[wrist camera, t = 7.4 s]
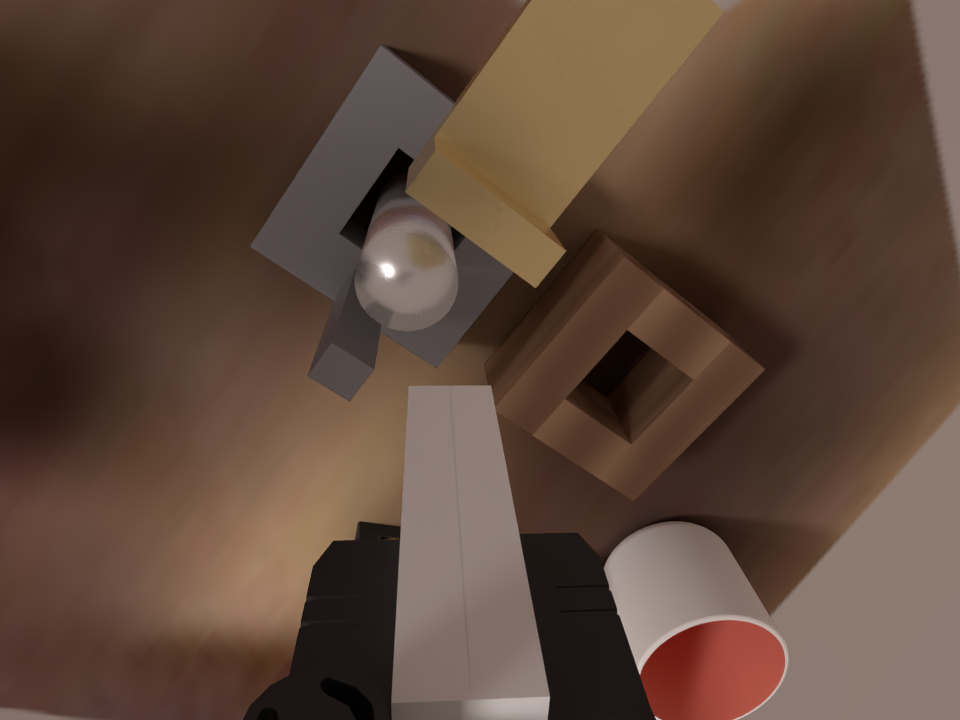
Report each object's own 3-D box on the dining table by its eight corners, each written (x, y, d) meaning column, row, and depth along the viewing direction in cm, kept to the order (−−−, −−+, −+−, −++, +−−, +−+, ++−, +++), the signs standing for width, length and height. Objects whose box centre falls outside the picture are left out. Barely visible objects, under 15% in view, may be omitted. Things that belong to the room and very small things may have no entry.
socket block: (266, 228, 39) (187, 317, 26) (385, 45, 35) (362, 43, 22) (435, 341, 42) (440, 468, 30) (558, 185, 39) (624, 253, 26)
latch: (408, 167, 24) (405, 191, 20) (595, -97, 21) (636, -132, 17) (518, 249, 25) (535, 288, 21) (705, 14, 23) (767, 6, 18)
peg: (364, 213, 39) (334, 293, 26) (404, 156, 38) (393, 211, 25) (420, 254, 40) (418, 349, 27) (461, 200, 39) (478, 272, 26)
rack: (484, 364, 43) (492, 409, 38) (597, 228, 40) (624, 256, 35) (609, 448, 47) (633, 501, 41) (722, 329, 44) (765, 369, 38)
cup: (735, 509, 50) (804, 611, 41) (716, 611, 54) (774, 724, 45) (601, 516, 49) (641, 621, 40) (592, 618, 53) (627, 735, 44)
